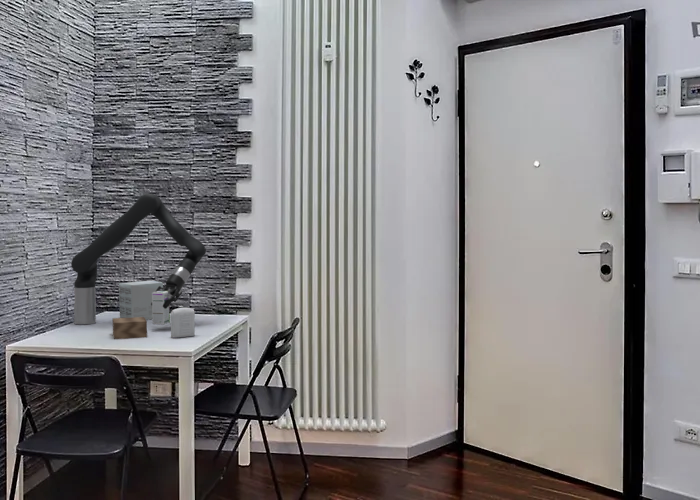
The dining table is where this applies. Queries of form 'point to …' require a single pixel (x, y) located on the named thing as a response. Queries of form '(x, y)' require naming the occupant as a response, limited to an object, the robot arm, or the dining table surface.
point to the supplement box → (137, 298)
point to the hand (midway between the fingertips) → (158, 306)
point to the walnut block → (129, 327)
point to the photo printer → (182, 322)
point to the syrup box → (160, 308)
